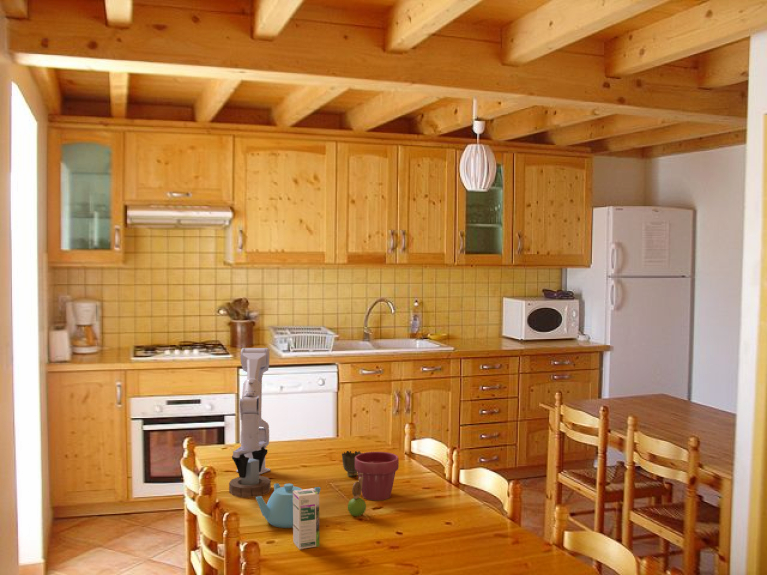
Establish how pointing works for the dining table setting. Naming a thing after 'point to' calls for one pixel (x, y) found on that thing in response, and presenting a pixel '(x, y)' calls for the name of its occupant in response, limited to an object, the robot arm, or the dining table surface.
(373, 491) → the plant pot
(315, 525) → the syrup box
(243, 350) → the robot arm
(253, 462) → the slate peg
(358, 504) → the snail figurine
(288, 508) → the teapot
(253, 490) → the walnut ring
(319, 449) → the dining table surface
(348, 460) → the cup
